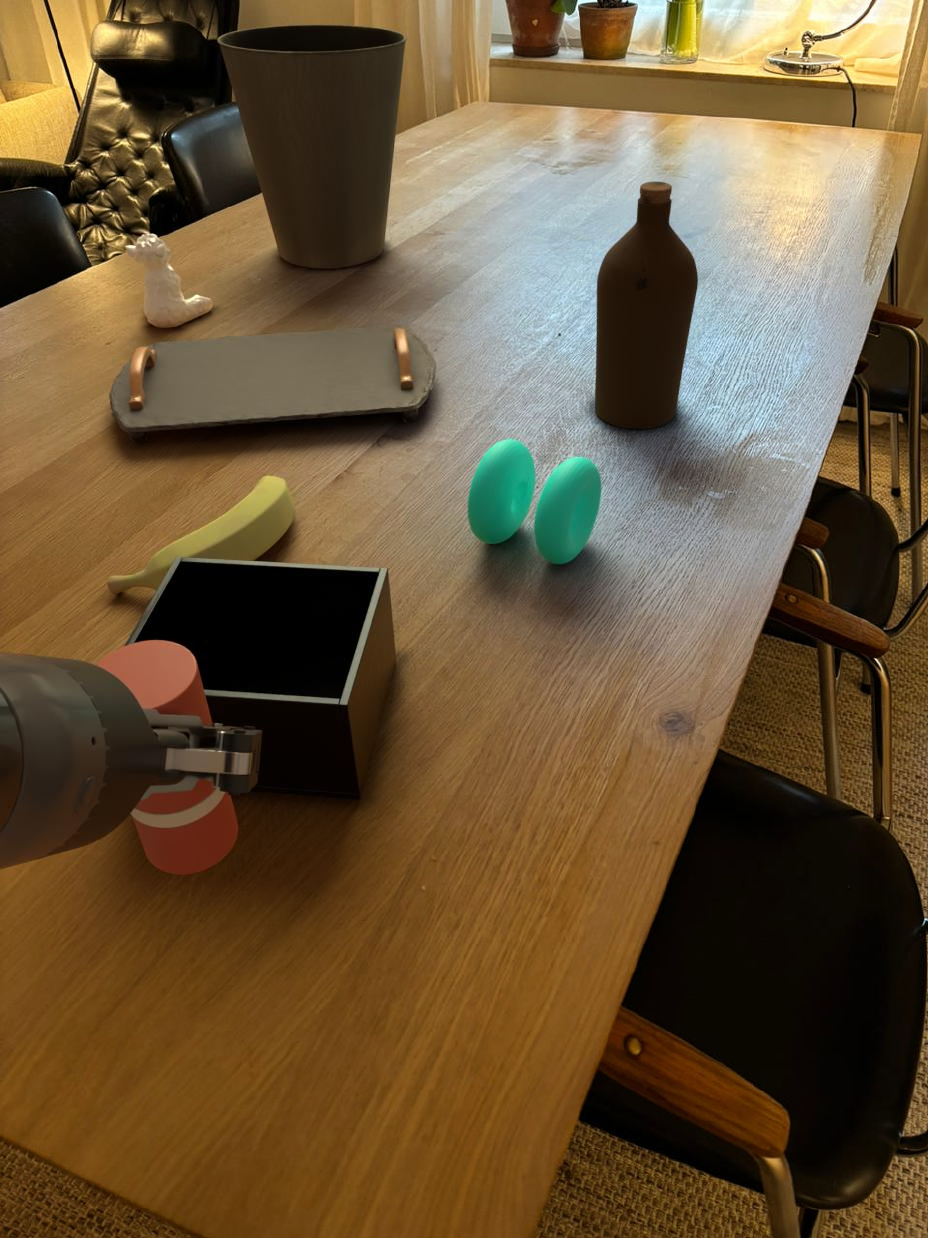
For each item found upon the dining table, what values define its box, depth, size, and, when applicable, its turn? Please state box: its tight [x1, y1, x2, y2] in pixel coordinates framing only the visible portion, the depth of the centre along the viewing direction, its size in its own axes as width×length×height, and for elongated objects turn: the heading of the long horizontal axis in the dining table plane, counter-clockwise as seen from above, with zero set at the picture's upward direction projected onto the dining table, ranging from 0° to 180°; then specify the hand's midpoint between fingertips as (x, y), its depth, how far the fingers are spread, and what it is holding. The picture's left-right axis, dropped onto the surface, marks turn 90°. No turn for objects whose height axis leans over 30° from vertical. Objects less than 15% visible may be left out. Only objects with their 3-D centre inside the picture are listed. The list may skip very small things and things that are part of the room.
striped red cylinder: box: [95, 640, 239, 875], centre depth 50 cm, size 5×5×12 cm
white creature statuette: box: [124, 233, 214, 329], centre depth 135 cm, size 10×9×12 cm
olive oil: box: [594, 181, 699, 430], centre depth 108 cm, size 11×11×25 cm
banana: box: [106, 475, 296, 595], centre depth 95 cm, size 14×6×20 cm
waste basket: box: [216, 23, 408, 269], centre depth 149 cm, size 27×20×30 cm
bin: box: [124, 557, 397, 800], centre depth 75 cm, size 17×15×10 cm
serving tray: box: [108, 325, 437, 445], centre depth 119 cm, size 39×23×6 cm, turn 97°
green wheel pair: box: [467, 438, 602, 565], centre depth 92 cm, size 10×10×10 cm
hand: (183, 743), depth 52 cm, fingers closed on striped red cylinder, 5 cm apart
